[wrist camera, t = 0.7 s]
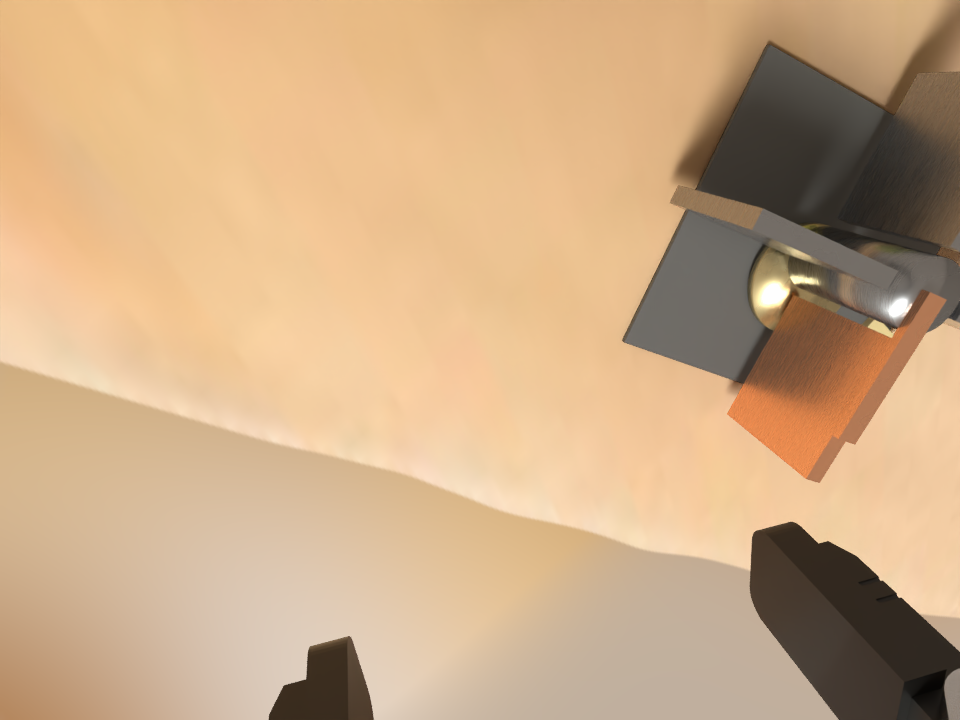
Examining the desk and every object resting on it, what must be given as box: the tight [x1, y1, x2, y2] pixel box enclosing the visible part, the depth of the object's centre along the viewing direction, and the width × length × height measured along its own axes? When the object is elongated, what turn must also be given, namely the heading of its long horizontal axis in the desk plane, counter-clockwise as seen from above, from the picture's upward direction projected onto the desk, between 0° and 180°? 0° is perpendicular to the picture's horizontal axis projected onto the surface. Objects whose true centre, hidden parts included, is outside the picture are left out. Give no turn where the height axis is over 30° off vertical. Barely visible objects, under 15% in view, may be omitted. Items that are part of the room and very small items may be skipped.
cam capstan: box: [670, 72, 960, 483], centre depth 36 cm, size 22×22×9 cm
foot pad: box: [622, 45, 941, 384], centre depth 40 cm, size 18×19×1 cm
